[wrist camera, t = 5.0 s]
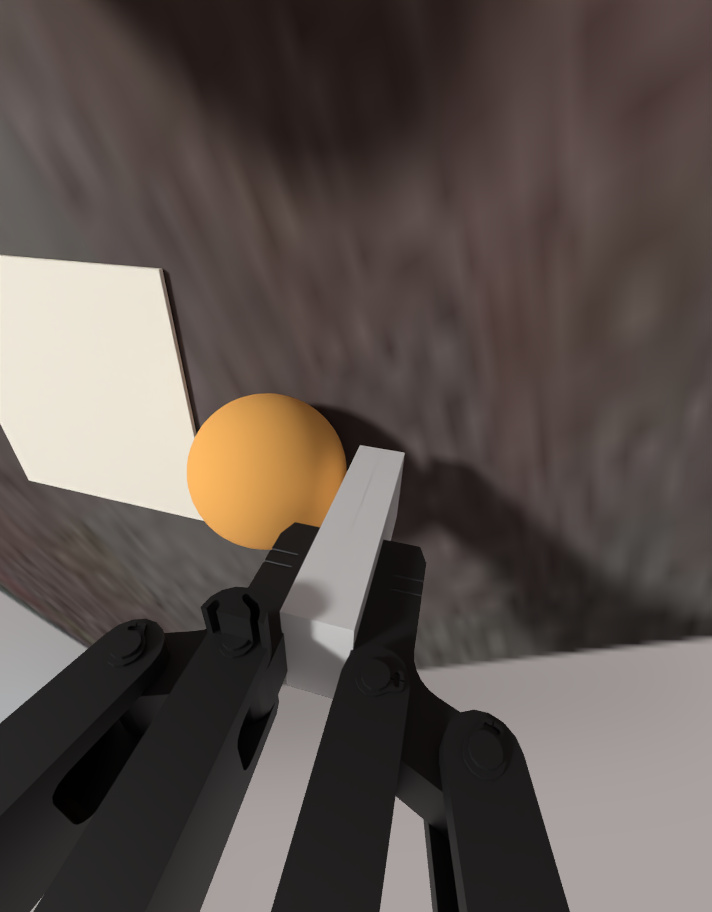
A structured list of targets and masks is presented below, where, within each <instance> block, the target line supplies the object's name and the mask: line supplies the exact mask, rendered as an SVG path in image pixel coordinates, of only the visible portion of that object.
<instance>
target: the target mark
mask: <svg viewBox="0 0 712 912" xmlns="http://www.w3.org/2000/svg"><path fill="white" fill-rule="evenodd" d="M0 424H1V426H2V428H3V430H4V432H5V434H6V436H7V438H8V440H9V442H10V444H11V446H12V448H13V450H14V452H15V454H16V456H17V458H18V460H19V462H20V464H21V466H22V468H23V470H24V471H25V473H26V475H27V477H28V479H29V480H30V481H34V482H38V483H43V484H47V485H51V486H56V487H60V488H64V489H68V490H73V491H77V492H81V493H86V494H90V495H94V496H99V497H103V498H107V499H112V500H116V501H120V502H125V503H129V504H133V505H138V506H142V507H146V508H151V509H155V510H159V511H164V512H168V513H172V514H176V515H181V516H185V517H189V518H194V519H198V520H202V521H204V520H203V519H202V517H201V516H200V515H199V513H198V511H197V509H196V507H195V506H194V504H193V502H192V499H191V496H190V492H189V489H188V483H187V461H188V455H189V452H190V448H191V445H192V443H193V441H194V438H195V436H196V435H197V434H196V429H195V424H194V419H193V414H192V410H191V405H190V400H189V395H188V390H187V385H186V381H185V376H184V371H183V366H182V361H181V357H180V352H179V347H178V342H177V337H176V332H175V328H174V323H173V318H172V313H171V308H170V303H169V299H168V294H167V289H166V284H165V279H164V275H163V270H162V269H159V268H147V267H136V266H124V265H112V264H100V263H89V262H77V261H65V260H53V259H42V258H30V257H18V256H7V255H0Z"/></svg>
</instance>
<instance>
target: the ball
mask: <svg viewBox="0 0 712 912" xmlns="http://www.w3.org/2000/svg"><path fill="white" fill-rule="evenodd" d="M346 473H347V467H346V459H345V453H344V450H343V447H342V444H341V441H340V439H339V437H338V435H337V433H336V431H335V430H334V428H333V427H332V425H331V424H330V423H329V422H328V420H327V419H326V418H325V417H324V416H323V415H322V414H321V413H319V412H318V411H317V410H316V409H314V408H313V407H311V406H310V405H308V404H306V403H305V402H303V401H300V400H298V399H295V398H293V397H290V396H285V395H280V394H271V393H264V394H253V395H249V396H245V397H242V398H239V399H236V400H234V401H232V402H230V403H228V404H226V405H224V406H223V407H222V408H220V409H219V410H217V411H216V412H215V413H214V414H213V415H211V416H210V417H209V418H208V419H207V421H206V422H205V423H204V424H203V425H202V427H201V428H200V429H199V431H198V433H197V435H196V436H195V438H194V441H193V443H192V445H191V448H190V452H189V455H188V461H187V483H188V489H189V492H190V496H191V499H192V502H193V504H194V506H195V507H196V509H197V511H198V513H199V515H200V516H201V517H202V519H203V520H204V521H205V522H206V523H207V525H208V526H209V527H210V528H212V529H213V530H214V531H215V532H216V533H218V534H219V535H220V536H222V537H223V538H225V539H227V540H229V541H231V542H233V543H235V544H238V545H241V546H244V547H248V548H253V549H262V550H268V549H272V547H273V545H274V544H275V542H276V540H277V538H278V537H279V535H280V533H281V532H283V531H284V530H285V529H287V528H288V527H289V526H291V525H292V524H293V523H294V522H297V523H302V524H307V525H311V526H316V527H321V525H322V523H323V521H324V519H325V517H326V515H327V513H328V510H329V508H330V506H331V504H332V502H333V500H334V498H335V496H336V494H337V492H338V490H339V488H340V486H341V484H342V481H343V479H344V477H345V475H346Z"/></svg>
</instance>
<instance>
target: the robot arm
mask: <svg viewBox="0 0 712 912" xmlns="http://www.w3.org/2000/svg"><path fill="white" fill-rule="evenodd" d="M404 455H405V453H404V452H398V451H392V450H386V449H380V448H374V447H368V446H362V445H360V446H359V448H358V450H357V452H356V454H355V457H354V459H353V461H352V463H351V465H350V467H349V469H348V471H347V473H346V475H345V477H344V479H343V481H342V484H341V486H340V488H339V490H338V492H337V494H336V496H335V498H334V500H333V502H332V504H331V506H330V508H329V510H328V513H327V515H326V517H325V519H324V521H323V523H322V525H321V527H316V526H311V525H307V524H302V523H297V522H294V523H293V524H292V525H291V526H289V527H288V528H287V529H285V530H284V531H283V532H281V533H280V535H279V537H278V538H277V540H276V542H275V544H274V545H273V547H272V550H270V552H269V554H268V555H267V557H266V559H265V562H263V564H262V565H261V567H260V569H259V570H258V572H257V574H256V575H255V577H254V579H253V580H252V582H251V584H250V586H249V587H248V588H244V587H233V588H229V589H225V590H222V591H220V592H218V593H216V594H215V595H213V596H211V597H210V598H209V599H208V600H207V601H206V602H205V603H204V604H203V605H202V606H201V610H202V613H203V617H204V621H205V624H206V628H207V629H205V630H199V631H190V632H175V633H164V631H163V629H162V628H161V627H160V626H159V625H158V624H157V622H154V621H151V620H148V619H137V620H131V621H128V622H125V623H123V624H120V625H118V626H117V627H115V628H114V629H112V630H111V631H109V632H108V633H106V634H105V635H104V636H103V637H101V638H100V639H99V640H98V641H97V642H95V643H94V644H93V645H92V646H91V647H90V648H88V649H87V650H86V651H85V652H84V653H83V654H81V655H80V656H79V657H78V658H77V659H75V660H74V661H73V662H72V663H71V664H70V665H68V666H67V667H66V668H65V669H64V670H63V671H61V672H60V673H59V674H58V675H57V676H55V677H54V678H53V679H52V680H51V681H50V682H48V683H47V684H46V685H45V686H44V687H42V688H41V689H40V690H39V691H38V692H37V693H35V694H34V695H33V696H32V697H31V698H30V699H28V700H27V701H26V702H25V703H24V704H23V705H21V706H20V707H19V708H18V709H17V710H15V711H14V712H13V713H12V714H11V715H10V716H8V717H7V718H6V719H5V720H4V721H2V722H1V723H0V912H30V911H31V910H32V909H33V907H34V906H35V905H36V904H37V902H38V901H39V900H40V898H42V899H41V900H40V902H39V904H38V905H37V907H36V908H35V910H34V912H200V909H201V907H202V904H203V902H204V899H205V897H206V894H207V891H208V889H209V886H210V883H211V881H212V879H213V876H214V873H215V871H216V868H217V866H218V863H219V860H220V858H221V855H222V853H223V850H224V847H225V845H226V842H227V840H228V837H229V835H230V832H231V830H232V827H233V824H234V822H235V819H236V816H237V814H238V812H239V809H240V806H241V804H242V801H243V798H244V796H245V794H246V791H247V788H248V786H249V783H250V781H251V778H252V775H253V773H254V770H255V768H256V765H257V762H258V760H259V758H260V755H261V752H262V750H263V747H264V745H265V742H266V739H267V737H268V734H269V732H270V729H271V727H272V724H273V721H274V719H275V716H276V714H277V709H278V704H279V699H278V693H279V691H280V688H281V686H282V684H283V681H284V679H285V676H286V678H287V685H288V686H291V687H294V688H298V689H302V690H305V691H308V692H312V693H315V694H318V695H322V696H325V697H329V698H332V699H333V701H332V704H331V707H330V711H329V715H328V718H327V721H326V725H325V728H324V732H323V735H322V738H321V742H320V745H319V749H318V752H317V756H316V759H315V762H314V766H313V769H312V773H311V776H310V780H309V783H308V786H307V790H306V793H305V797H304V800H303V804H302V807H301V811H300V814H299V817H298V821H297V825H296V828H295V831H294V835H293V838H292V841H291V845H290V849H289V852H288V855H287V859H286V862H285V865H284V869H283V872H282V876H281V879H280V883H279V886H278V889H277V893H276V896H275V900H274V904H273V907H272V910H271V912H379V911H380V903H381V896H382V889H383V882H384V874H385V868H386V860H387V852H388V846H389V838H390V831H391V824H392V816H393V809H394V802H395V796H396V797H398V798H399V799H400V800H401V801H402V802H404V803H405V804H406V805H407V806H408V807H410V808H411V809H412V810H413V811H414V812H416V813H417V814H418V815H419V816H420V817H422V818H423V819H424V829H425V838H426V848H427V858H428V868H429V878H430V888H431V898H432V908H433V912H570V911H569V907H568V904H567V900H566V897H565V894H564V890H563V887H562V883H561V880H560V876H559V873H558V870H557V866H556V863H555V859H554V856H553V853H552V849H551V846H550V842H549V839H548V836H547V832H546V829H545V825H544V822H543V819H542V815H541V812H540V808H539V805H538V801H537V798H536V795H535V792H534V788H533V784H532V781H531V778H530V774H529V771H528V767H527V764H526V760H525V757H524V754H523V752H522V750H521V748H520V746H519V743H518V741H517V739H516V737H515V735H514V734H513V733H512V732H511V731H510V730H509V728H508V727H507V726H506V725H505V724H504V723H503V722H502V721H500V720H499V719H497V718H496V717H494V716H492V715H491V714H489V713H486V712H481V711H477V710H470V711H465V712H459V711H457V710H456V709H454V708H453V707H451V706H450V705H448V704H447V703H445V702H444V701H442V700H441V699H439V698H438V697H437V696H435V695H434V694H433V693H432V692H430V691H429V690H428V688H427V687H426V686H425V685H424V683H423V682H422V681H421V679H420V677H419V675H418V673H417V671H416V667H415V663H414V648H415V641H416V633H417V626H418V619H419V611H420V604H421V596H422V590H423V582H424V575H425V568H426V562H425V559H424V556H423V553H422V551H421V548H420V547H417V546H412V545H407V544H403V543H398V542H393V541H391V537H392V533H393V530H394V526H395V522H396V518H397V511H398V503H399V495H400V487H401V479H402V471H403V463H404ZM43 895H44V896H43ZM42 896H43V897H42Z"/></svg>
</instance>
